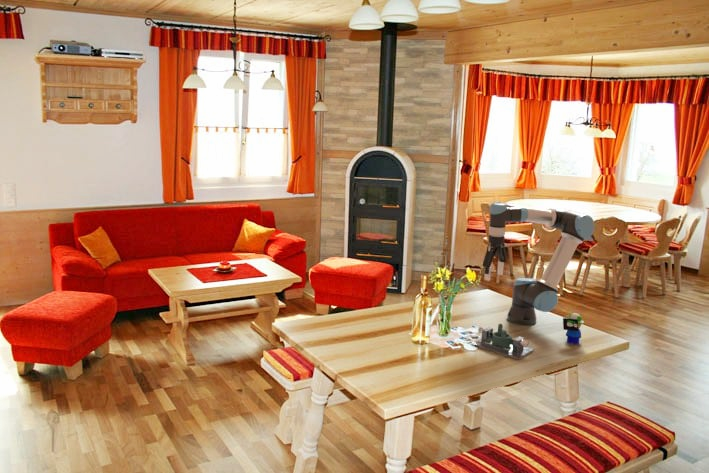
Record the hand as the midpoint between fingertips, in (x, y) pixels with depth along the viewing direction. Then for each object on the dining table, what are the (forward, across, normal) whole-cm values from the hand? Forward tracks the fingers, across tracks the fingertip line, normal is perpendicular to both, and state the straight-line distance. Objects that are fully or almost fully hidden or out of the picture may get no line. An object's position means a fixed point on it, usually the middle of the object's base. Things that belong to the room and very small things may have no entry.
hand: (493, 277), depth 305 cm
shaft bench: (+29, +13, +13) cm, 35 cm away
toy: (+30, -19, +35) cm, 50 cm away
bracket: (+28, +13, +13) cm, 34 cm away
